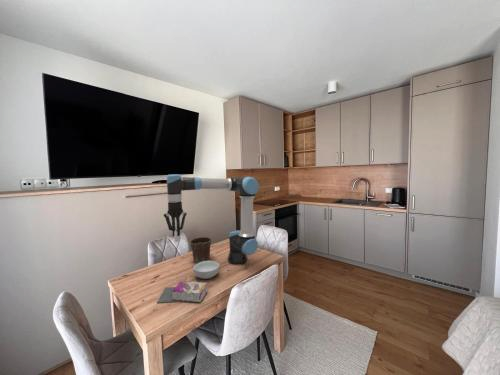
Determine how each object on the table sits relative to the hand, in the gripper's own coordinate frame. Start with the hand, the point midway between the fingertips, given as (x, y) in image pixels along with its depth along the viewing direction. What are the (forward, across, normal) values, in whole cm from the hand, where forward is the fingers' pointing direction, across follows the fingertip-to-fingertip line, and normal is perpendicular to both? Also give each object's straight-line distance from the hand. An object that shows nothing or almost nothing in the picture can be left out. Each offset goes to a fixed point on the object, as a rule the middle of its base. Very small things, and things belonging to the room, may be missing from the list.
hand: (176, 241), depth 119 cm
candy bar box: (+25, 0, +6) cm, 26 cm away
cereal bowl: (+29, -15, -13) cm, 35 cm away
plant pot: (+29, -8, -38) cm, 48 cm away
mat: (+28, -3, +6) cm, 29 cm away
